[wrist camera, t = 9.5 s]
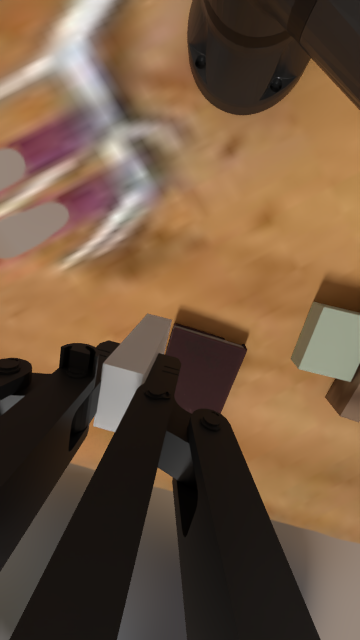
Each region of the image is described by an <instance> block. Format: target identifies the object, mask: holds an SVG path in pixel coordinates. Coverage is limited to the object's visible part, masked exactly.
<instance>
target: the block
mask: <svg viewBox="0 0 360 640" xmlns="http://www.w3.org/2000/svg"><path fill="white" fill-rule="evenodd" d="M291 360H292V361H293V362H294V364H295V365H296V366H297V368H298V369H301V370H305V371H309V372H313V373H317V374H321V375H325V376H329V377H333V378H337V379H341V380H345V381H349V382H351V380H352V378H353V376H354V374H355V372H356V370H357V368H358V366H359V364H360V313H359V312H355V311H350V310H346V309H342V308H338V307H334V306H330V305H326V304H321V303H317V302H313V303H312V306H311V308H310V311H309V313H308V316H307V318H306V321H305V323H304V326H303V329H302V331H301V334H300V336H299V339H298V341H297V344H296V346H295V349H294V351H293V354H292V356H291Z"/></svg>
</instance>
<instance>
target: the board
mask: <svg viewBox="0 0 360 640" xmlns="http://www.w3.org/2000/svg"><path fill="white" fill-rule="evenodd" d="M325 398H326V399H327V400H328V402H329V403H330V404H331V405H332V407H333V408H334V409H335V410H336V412H337V413H338V414H339V415H340V416H341V417H344V418H347V419H350V420H353V421H356V422H359V421H360V364H359V366H358V368H357V370H356V372H355V374H354V376H353V378H352V380H351V382H349V381H345V380H341V379H337V378H336V379H335V381H334V383H333V384H332V386H331V388H330V390H329V391H328V393H327V395H326V397H325Z"/></svg>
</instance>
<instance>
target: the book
mask: <svg viewBox="0 0 360 640" xmlns="http://www.w3.org/2000/svg"><path fill="white" fill-rule="evenodd" d="M246 352H247V348H246V346H245V345H244V344H242V345H239V344H235V343H232V342H229V341H226V340H225V339H224V338H222V337H218V336H215V335H213V334H209V333H206V332H203V331H200V330H196V329H194V328H190V327H187V326H183V325H180V324H174V326H173V329H172V333H171V336H170V340H169V343H168V347H167V351H166V354H165V355H168V356H172V357H176V358H179V360H180V362H181V368H180V373H179V377H178V381H177V385H176V390H175V395H174V397H175V400H176V402H177V403H178V405H179V406H181V407H182V408H183V409H185V410H186V411H188V412H190V413H193V412H194V411H195V410H197V409H210V410H214V411H216V412H218V413H220V414H221V411H222V409H223V406H224V404H225V402H226V399H227V397H228V395H229V392H230V390H231V387H232V385H233V382H234V380H235V378H236V376H237V373H238V371H239V369H240V366H241V364H242V361H243V359H244V357H245V354H246Z"/></svg>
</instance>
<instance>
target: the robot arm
mask: <svg viewBox="0 0 360 640" xmlns="http://www.w3.org/2000/svg"><path fill="white" fill-rule="evenodd" d="M187 41H188V53H189V62H190V67H191V71H192V74H193V77H194V80H195V82H196V84H197V86H198V88H199V89H200V91H201V93H202V94H203V95H204V96H205V98H206V99H207V100H208V101H209V102H210V103H211V104H213V105H214V106H215V107H217V108H219V109H220V110H222V111H225V112H227V113H231V114H236V115H250V114H255V113H259V112H261V111H264V110H266V109H268V108H270V107H272V106H274V105H275V104H277V103H278V102H279V101H281V100H282V99H283V98H284V97H285V96H286V95H287V94H288V93H289V92H290V91H291V90H292V89H293V87H294V86H295V85H296V83H297V82H298V80H299V79H300V77H301V76H302V74H303V72H304V70H305V68H306V66H307V64H308V63H309V61H310V59H311V58H312V59H313V60H314V61H315V63H316V64H317V65H318V66H319V67H320V68H321V69H322V70H323V71H324V72H325V73H326V74H327V75H328V77H329V78H330V79H331V80H332V81H333V82H334V83H335V84H336V85H337V86H338V87H339V88H340V89H341V91H342V92H343V93H344V94H345V95H346V96H347V97H348V98H349V99H350V100H351V101H352V102H353V103H354V105H355V106H356V107H357V108H358V109H359V110H360V0H192V4H191V8H190V13H189V19H188V31H187ZM171 322H172V320H171V319H167V318H163V317H159V316H155V315H151V314H147V315H146V316H145V317H144V318H143V319H142V320H141V322H140V323H139V324H138V325H137V326H136V327H135V328H134V329H133V330H132V332H131V333H130V334H129V335H128V336H127V337H126V338H125V339H124V340H123V342H122V343H121V344H120V343H116V342H112V341H106V342H103V343H100V344H99V345H98V346H97V347H96V348H95V347H94V346H91V345H88V344H83V343H72V344H66V345H64V346H62V347H61V353H60V364H59V368H58V369H57V370H56V371H55V372H53V373H52V374H42V373H32V366H31V363H29V362H28V361H26V360H23V359H18V358H6V359H0V571H1V570H2V568H3V566H4V565H5V563H6V562H7V560H8V559H9V557H10V555H11V554H12V552H13V551H14V549H15V548H16V546H17V544H18V543H19V541H20V540H21V538H22V537H23V535H24V534H25V532H26V530H27V529H28V527H29V526H30V524H31V523H32V521H33V519H34V518H35V516H36V515H37V513H38V512H39V510H40V508H41V507H42V505H43V504H44V502H45V501H46V499H47V497H48V496H49V494H50V493H51V491H52V490H53V488H54V486H55V485H56V483H57V482H58V480H59V479H60V477H61V475H62V474H63V472H64V471H65V469H66V468H67V466H68V465H69V463H70V461H71V460H72V458H73V457H74V455H75V454H76V452H77V450H78V449H79V447H80V446H81V444H82V443H83V441H84V439H85V438H86V436H87V433H88V430H89V423H90V422H91V420H92V419H93V417H94V416H95V418H94V425H93V426H95V427H99V428H102V429H106V430H109V431H113V432H115V433H114V435H113V437H112V439H111V441H110V443H109V445H108V447H107V449H106V451H105V453H104V455H103V457H102V459H101V461H100V463H99V465H98V467H97V469H96V471H95V472H94V475H93V476H92V478H91V480H90V482H89V484H88V486H87V488H86V490H85V492H84V494H83V496H82V498H81V501H80V502H79V504H78V506H77V508H76V510H75V512H74V514H73V516H72V518H71V520H70V522H69V524H68V526H67V528H66V530H65V531H64V534H63V536H62V537H61V540H60V541H59V543H58V545H57V547H56V549H55V551H54V553H53V555H52V557H51V559H50V561H49V563H48V565H47V567H46V569H45V571H44V573H43V575H42V577H41V579H40V581H39V583H38V585H37V587H36V589H35V590H34V592H33V594H32V596H31V598H30V600H29V602H28V604H27V606H26V608H25V610H24V612H23V614H22V616H21V618H20V620H19V622H18V624H17V626H16V628H15V630H14V632H13V634H12V636H11V638H10V640H117V636H118V632H119V628H120V623H121V619H122V615H123V611H124V607H125V603H126V598H127V593H128V590H129V585H130V581H131V577H132V573H133V569H134V565H135V560H136V556H137V552H138V547H139V543H140V539H141V535H142V531H143V526H144V522H145V518H146V514H147V509H148V505H149V501H150V497H151V492H152V489H153V484H154V480H155V476H156V472H157V467H158V468H160V469H161V470H163V471H164V472H166V473H167V474H169V475H170V476H172V477H173V480H172V484H173V495H174V505H175V516H176V526H177V536H178V547H179V557H180V568H181V579H182V590H183V600H184V611H185V622H186V632H187V640H320V638H319V635H318V633H317V630H316V628H315V626H314V623H313V621H312V618H311V616H310V614H309V611H308V609H307V606H306V604H305V602H304V599H303V597H302V595H301V592H300V590H299V587H298V585H297V583H296V580H295V578H294V575H293V573H292V571H291V568H290V566H289V563H288V561H287V559H286V556H285V554H284V552H283V549H282V547H281V544H280V542H279V540H278V537H277V535H276V533H275V530H274V528H273V525H272V523H271V521H270V518H269V516H268V513H267V511H266V509H265V506H264V504H263V501H262V499H261V497H260V494H259V492H258V490H257V487H256V485H255V482H254V480H253V478H252V475H251V473H250V470H249V468H248V466H247V463H246V461H245V459H244V456H243V454H242V451H241V449H240V447H239V444H238V442H237V440H236V437H235V435H234V432H233V430H232V428H231V425H230V423H229V422H228V420H227V419H226V418H225V417H224V416H223V415H221V414H220V413H218V412H216V411H214V410H210V409H197V410H195V411H194V412H193V413H190V412H188V411H186V410H185V409H183V408H182V407H181V406H179V405H178V403H177V402H176V400H175V397H174V395H175V390H176V385H177V381H178V377H179V373H180V368H181V362H180V360H179V358H176V357H172V356H168V355H164V351H165V347H166V343H167V339H168V334H169V330H170V326H171Z"/></svg>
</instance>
